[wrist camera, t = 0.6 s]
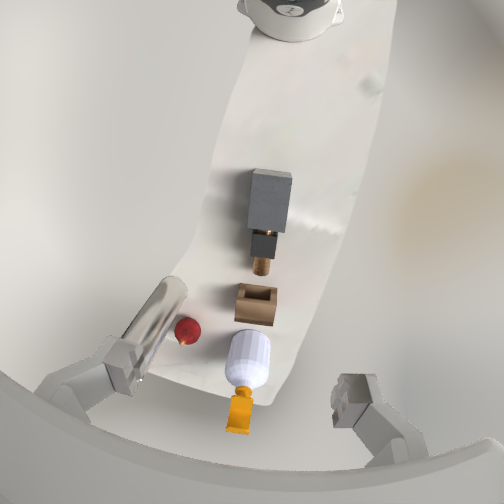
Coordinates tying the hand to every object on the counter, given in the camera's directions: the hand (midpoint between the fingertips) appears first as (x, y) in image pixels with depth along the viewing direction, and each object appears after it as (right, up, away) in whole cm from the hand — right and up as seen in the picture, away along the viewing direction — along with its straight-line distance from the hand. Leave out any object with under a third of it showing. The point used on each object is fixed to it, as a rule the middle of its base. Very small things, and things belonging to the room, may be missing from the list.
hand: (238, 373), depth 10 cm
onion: (-13, -11, +51) cm, 54 cm away
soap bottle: (0, -16, +52) cm, 54 cm away
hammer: (+3, +10, +39) cm, 41 cm away
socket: (+2, -4, +46) cm, 46 cm away
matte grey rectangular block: (+4, +14, +38) cm, 41 cm away
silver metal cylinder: (-16, -3, +48) cm, 51 cm away
